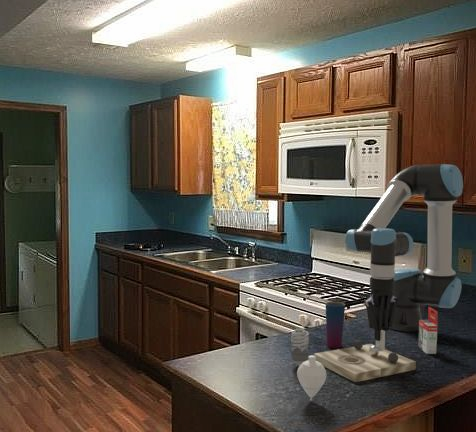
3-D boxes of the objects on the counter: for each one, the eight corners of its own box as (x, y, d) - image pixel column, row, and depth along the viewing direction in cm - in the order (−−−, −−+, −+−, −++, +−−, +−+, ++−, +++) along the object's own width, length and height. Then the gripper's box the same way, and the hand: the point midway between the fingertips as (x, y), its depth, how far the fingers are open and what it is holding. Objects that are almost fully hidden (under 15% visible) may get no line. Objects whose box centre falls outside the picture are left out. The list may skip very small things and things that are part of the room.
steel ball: (374, 344, 172) (367, 344, 171) (382, 346, 170) (374, 347, 168) (374, 353, 172) (366, 354, 171) (381, 356, 170) (373, 357, 168)
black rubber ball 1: (358, 347, 179) (358, 338, 179) (364, 349, 176) (364, 340, 176) (351, 348, 178) (351, 339, 177) (357, 350, 175) (357, 342, 175)
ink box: (426, 354, 180) (427, 311, 179) (417, 346, 188) (418, 306, 187) (436, 354, 180) (438, 311, 180) (427, 346, 188) (429, 306, 187)
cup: (344, 349, 184) (345, 306, 183) (324, 348, 185) (325, 305, 184) (344, 343, 191) (345, 302, 190) (324, 342, 192) (325, 301, 191)
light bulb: (287, 364, 168) (287, 327, 167) (302, 362, 170) (303, 325, 170) (296, 370, 163) (296, 332, 162) (311, 368, 165) (312, 330, 165)
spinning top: (293, 403, 139) (294, 358, 138) (300, 393, 146) (301, 350, 145) (322, 408, 136) (323, 362, 135) (328, 397, 143) (329, 353, 142)
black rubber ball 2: (393, 360, 166) (393, 350, 166) (400, 363, 164) (400, 353, 163) (385, 361, 165) (386, 352, 165) (392, 364, 162) (393, 355, 162)
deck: (371, 350, 183) (371, 343, 183) (415, 369, 165) (415, 361, 165) (313, 361, 172) (314, 353, 172) (354, 382, 154) (355, 373, 154)
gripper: (388, 273, 176) (386, 344, 178) (358, 276, 170) (356, 349, 171) (405, 277, 169) (403, 350, 171) (374, 280, 163) (372, 356, 165)
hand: (380, 349), depth 171 cm, fingers closed
